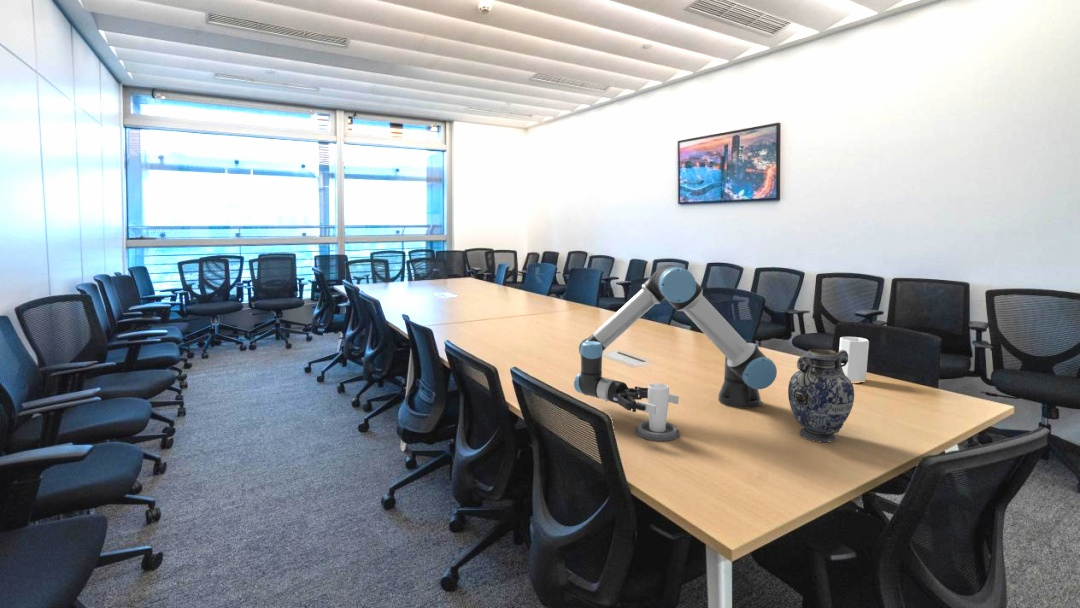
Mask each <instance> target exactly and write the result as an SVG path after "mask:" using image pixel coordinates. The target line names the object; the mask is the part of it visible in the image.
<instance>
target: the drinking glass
mask: <svg viewBox="0 0 1080 608" xmlns="http://www.w3.org/2000/svg"><path fill="white" fill-rule="evenodd" d="M647 388H648V398H647V403H648V404H652V405H656V414H655V415H654V414H651V413H648V421H649V429H650V431H652V432H656V433H662V432H664V431H665V430H666V422H667V417H668V411H669V410H668V409H669V403H670V402H669V394H670V385H668V384H665V383H660V382H654V383H649V384H648V385H647Z"/></svg>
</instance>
